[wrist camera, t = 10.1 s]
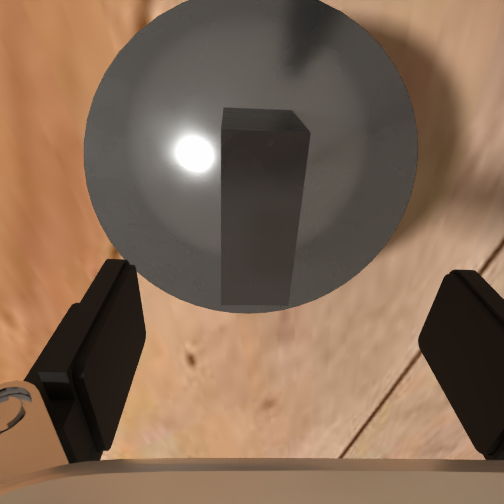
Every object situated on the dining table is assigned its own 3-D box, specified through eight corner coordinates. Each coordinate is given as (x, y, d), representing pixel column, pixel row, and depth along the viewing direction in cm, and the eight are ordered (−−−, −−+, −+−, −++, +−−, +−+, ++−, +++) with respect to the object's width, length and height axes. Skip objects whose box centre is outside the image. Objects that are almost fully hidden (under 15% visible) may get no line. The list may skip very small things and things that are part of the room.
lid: (458, 2, 15) (555, -13, 11) (370, 305, 24) (402, 368, 19) (51, -24, 14) (-36, -53, 9) (117, 305, 23) (89, 371, 18)
